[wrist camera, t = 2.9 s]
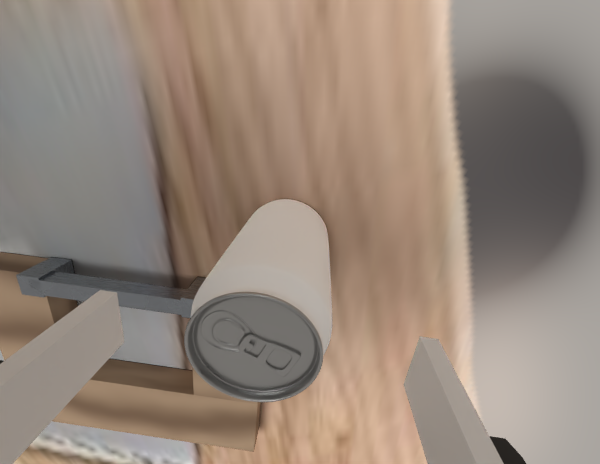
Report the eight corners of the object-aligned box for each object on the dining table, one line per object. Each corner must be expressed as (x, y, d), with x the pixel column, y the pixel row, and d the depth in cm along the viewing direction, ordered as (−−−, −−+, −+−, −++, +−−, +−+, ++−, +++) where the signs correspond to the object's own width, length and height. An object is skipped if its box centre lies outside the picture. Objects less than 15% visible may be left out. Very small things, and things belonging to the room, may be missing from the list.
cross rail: (51, 257, 25) (15, 275, 22) (217, 279, 24) (203, 300, 21) (55, 274, 25) (22, 294, 22) (217, 296, 25) (204, 320, 22)
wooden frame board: (1, 252, 25) (-32, 265, 23) (270, 288, 24) (265, 306, 22) (47, 395, 32) (26, 417, 29) (258, 427, 31) (253, 451, 29)
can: (270, 181, 21) (211, 251, 10) (344, 224, 22) (367, 335, 10) (233, 248, 23) (151, 368, 12) (302, 285, 24) (284, 429, 13)
